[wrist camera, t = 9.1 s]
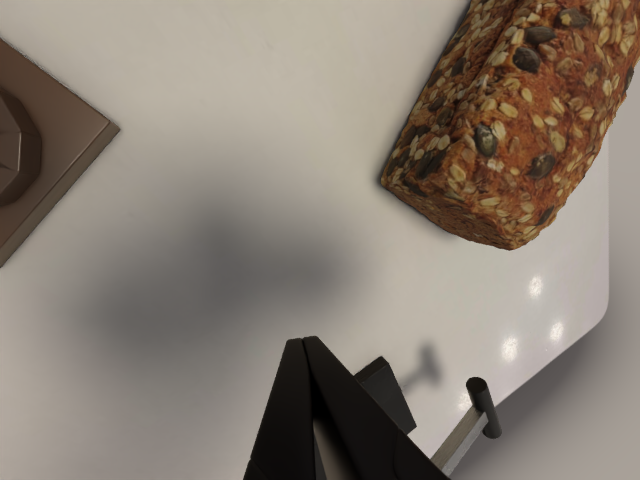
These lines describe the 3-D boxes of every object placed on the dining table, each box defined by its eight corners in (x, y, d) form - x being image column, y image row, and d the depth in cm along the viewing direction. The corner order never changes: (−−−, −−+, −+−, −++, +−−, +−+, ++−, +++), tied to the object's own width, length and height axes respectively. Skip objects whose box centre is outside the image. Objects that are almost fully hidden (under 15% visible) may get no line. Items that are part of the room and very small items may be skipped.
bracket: (381, 355, 27) (471, 439, 18) (409, 417, 30) (501, 518, 21) (283, 426, 25) (331, 564, 16) (322, 488, 27) (383, 637, 18)
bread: (472, -20, 25) (635, -145, 15) (541, 68, 29) (702, 12, 20) (364, 183, 24) (467, 179, 15) (451, 243, 28) (573, 270, 19)
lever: (466, 371, 24) (497, 385, 22) (481, 414, 26) (512, 432, 24) (367, 488, 19) (395, 520, 17) (393, 533, 21) (421, 568, 19)
